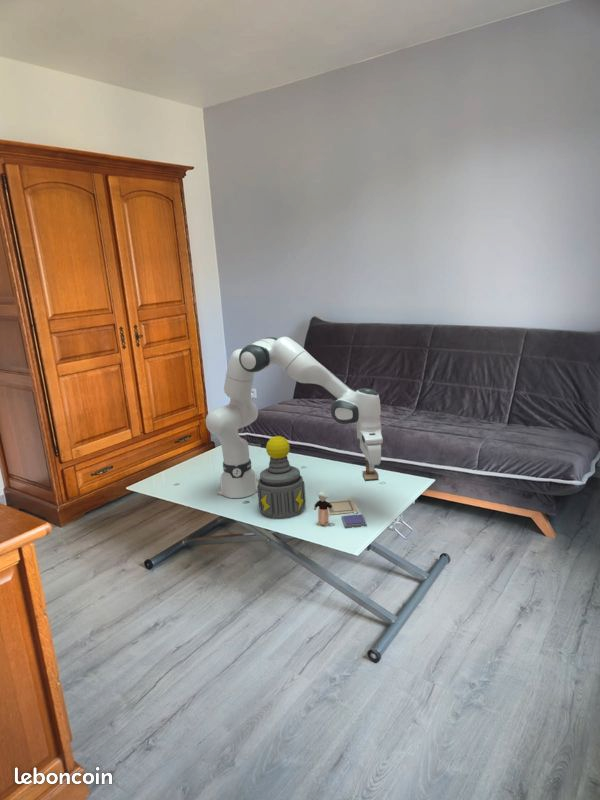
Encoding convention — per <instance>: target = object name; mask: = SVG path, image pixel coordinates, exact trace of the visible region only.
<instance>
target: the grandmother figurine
mask: <svg viewBox="0 0 600 800" xmlns="http://www.w3.org/2000/svg"><path fill="white" fill-rule="evenodd" d="M326 499H328V494H327V493H326V492H324V491H320V492H318V501H316V503H314V507H313V511H316V510H317V512H318V514H317V515H318V517H317V522H316V525H317V526H322V525H323V526H324V527H328V526H329V525H330V523H329V515H328V509H327V507H328V508H330V509H331V511H332V512H333V511H334V509H333V507H332V505H331V504H330V503H329V502H327V501H326ZM317 508H318V509H317Z"/></svg>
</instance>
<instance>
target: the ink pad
mask: <svg viewBox="0 0 600 800" xmlns="http://www.w3.org/2000/svg"><path fill="white" fill-rule="evenodd" d="M341 521H342V524H343V527H344V529H352V527H354V528H362V527H361V526H364V527H367V526H368V523H367V521H366V518H365V517H364V514H362V513H361V514H359V513H358V514H350V515H342V516H341Z"/></svg>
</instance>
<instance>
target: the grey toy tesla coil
mask: <svg viewBox="0 0 600 800" xmlns="http://www.w3.org/2000/svg"><path fill="white" fill-rule="evenodd" d="M265 448H266V449H265V450H266V453H267V456H269V463H268V467H267V468H265V469H263V470H261V472H260V474H259V477H260V478H259V479H257V481H258V486H257V490H258V492H257V500H258V507H259V510H260V513H262V515H264V516H266V517H268V518H271V519H287V518H292V517H296V516H297V514H298V515H299V514H300V513H302V512H303V511H304V509H305V507H306V490H305V481H304V479H303V476H302V475H301V472H300V471H301V470H300V469H299V468H298V467H296V466H294V465H293V466H292V465H291V464H290V462H289V458H288V455H289V453H290V449H291V448H290V443H289V441H288V440H287V439H286V438H285V437H284V436H281V435H276V436H275V435H274V436H273V437H271V438H269V440H268V441H267V443H266V444H265Z"/></svg>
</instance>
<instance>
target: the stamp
mask: <svg viewBox="0 0 600 800" xmlns="http://www.w3.org/2000/svg"><path fill="white" fill-rule="evenodd" d="M375 466H376V465H374V471H369V462H368V460H366V459H365V470H362V472H361V473H362V478H363V479H364V482H374V481H375V482H376V481H379V480H380V479H379V474H378V471H377V469H375Z"/></svg>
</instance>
